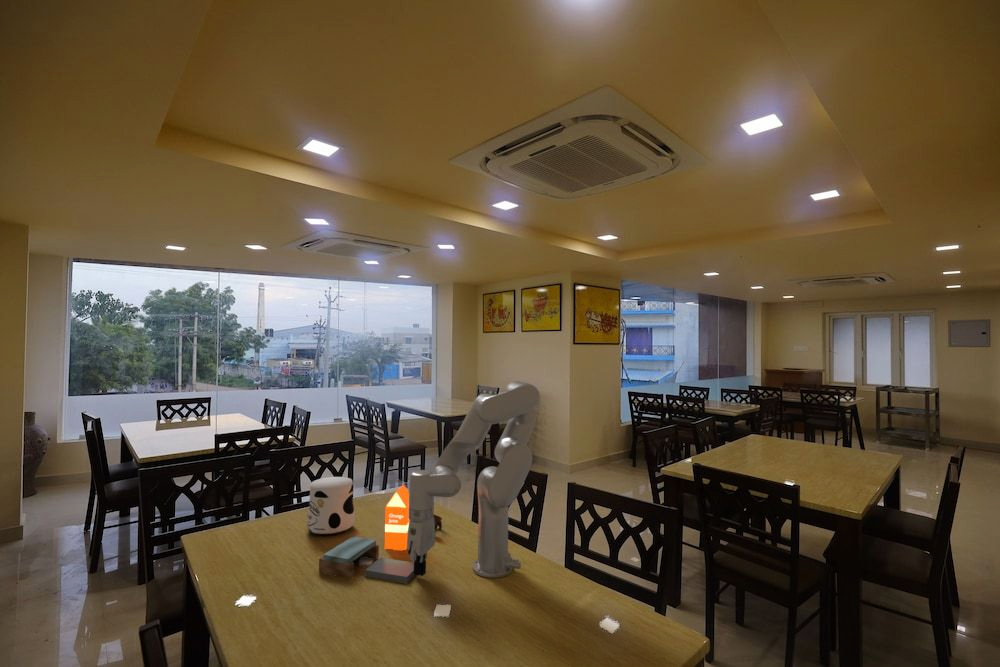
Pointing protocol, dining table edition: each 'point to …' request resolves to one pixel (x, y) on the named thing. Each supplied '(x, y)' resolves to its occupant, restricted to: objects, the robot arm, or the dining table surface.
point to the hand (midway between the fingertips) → (419, 573)
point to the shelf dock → (344, 567)
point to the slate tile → (391, 570)
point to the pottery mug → (437, 522)
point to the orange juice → (397, 520)
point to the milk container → (331, 506)
